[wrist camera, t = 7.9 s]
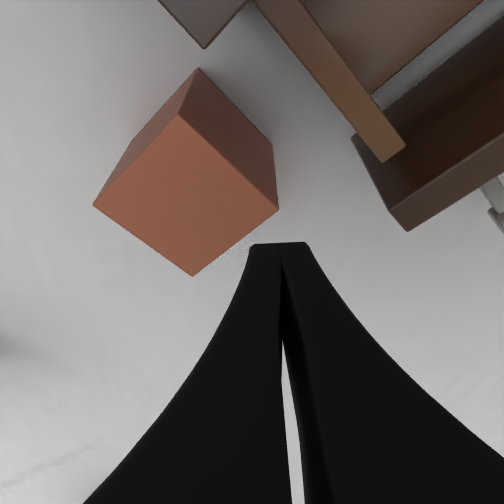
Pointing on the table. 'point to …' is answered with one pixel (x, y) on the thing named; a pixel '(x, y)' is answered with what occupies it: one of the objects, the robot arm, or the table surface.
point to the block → (193, 178)
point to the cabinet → (203, 16)
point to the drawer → (407, 96)
